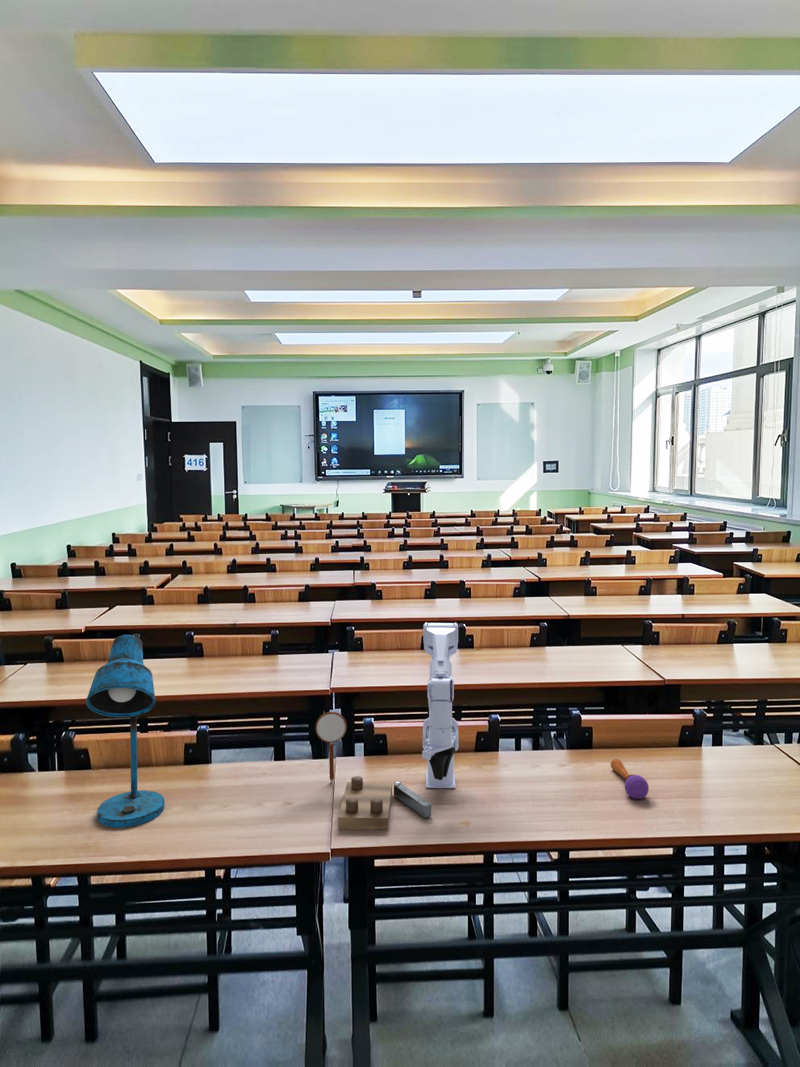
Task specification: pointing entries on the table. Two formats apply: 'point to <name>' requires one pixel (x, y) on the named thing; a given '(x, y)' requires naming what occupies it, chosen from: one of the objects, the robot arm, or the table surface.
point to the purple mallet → (631, 781)
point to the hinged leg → (412, 799)
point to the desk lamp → (130, 694)
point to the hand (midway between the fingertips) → (440, 777)
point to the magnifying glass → (331, 733)
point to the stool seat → (365, 805)
